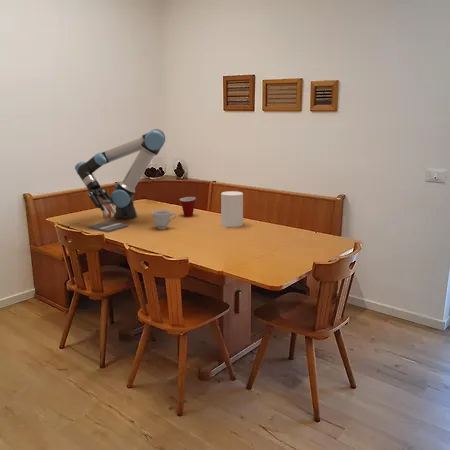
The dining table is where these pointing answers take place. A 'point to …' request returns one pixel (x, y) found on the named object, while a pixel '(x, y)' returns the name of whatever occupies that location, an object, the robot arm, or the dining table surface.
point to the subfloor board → (108, 226)
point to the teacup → (162, 218)
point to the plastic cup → (188, 205)
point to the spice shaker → (108, 207)
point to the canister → (232, 209)
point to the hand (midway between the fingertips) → (111, 213)
